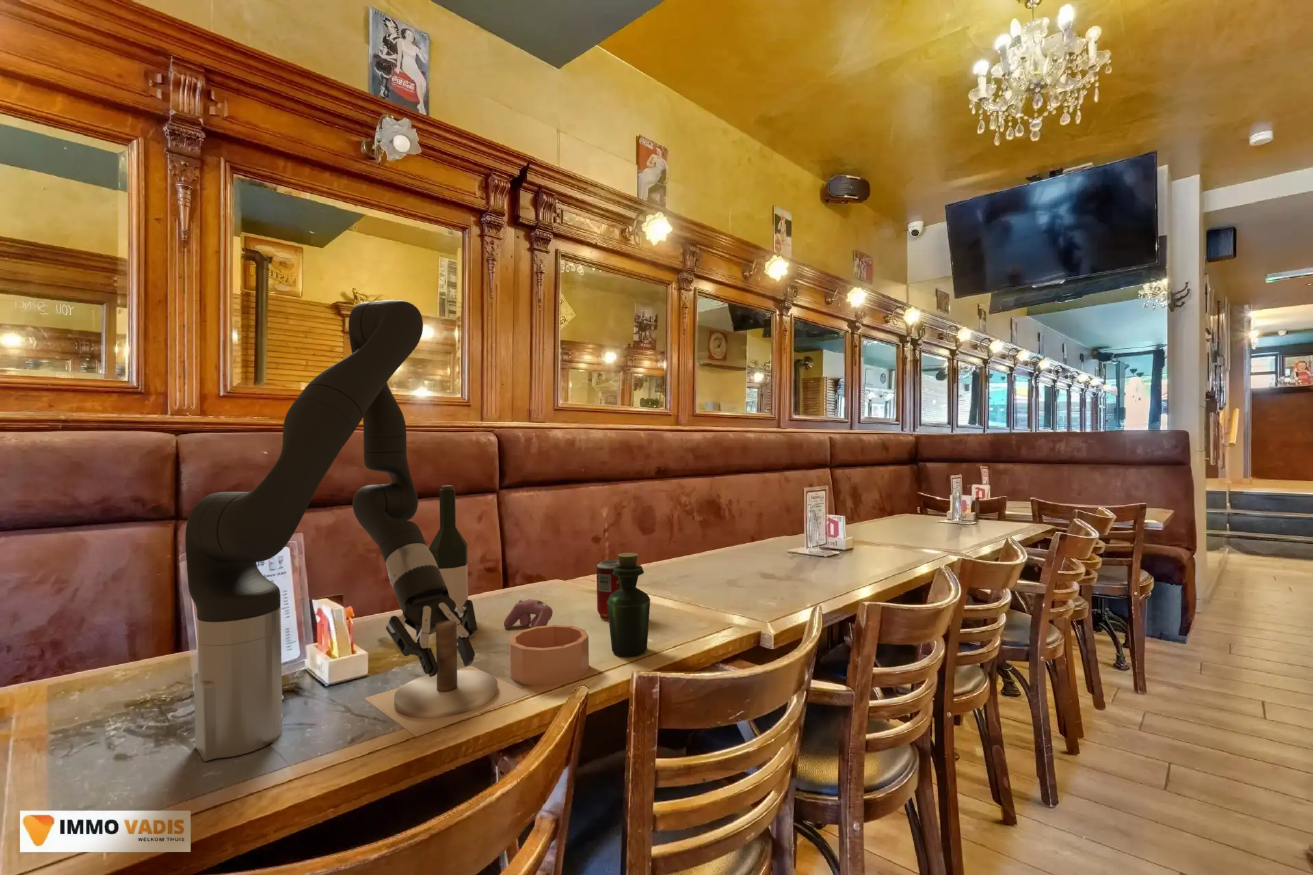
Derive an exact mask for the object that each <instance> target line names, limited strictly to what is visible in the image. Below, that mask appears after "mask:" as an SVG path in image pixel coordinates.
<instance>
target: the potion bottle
mask: <svg viewBox="0 0 1313 875" xmlns="http://www.w3.org/2000/svg"><path fill="white" fill-rule="evenodd" d="M638 557H639V554H638V553H636V552H623V553H618V554H617V560H619V564H620V565H618V566H615V567H614V570H613V575H615V576H618V579H619V582H620V586H621V588H620V589H618V590H617V591H615V592H614V593H612V594H611V595H610V596H609V598H608V600H607V608H608V617H609V620H608V624H609V634H610V635H609V636H610V643H611V644H610V645H611V651H612V653H613V654H614V655H615V656H617V657H621V658H634V657H635V658H636V657H639V656H642V655H644V654H646V652H647V651H648V638H649V624H650V610H651V607H650V606H651V597H650V596H649V594H648V593H647V592H645V591H643V590H641V589H640V588H638V587H637V586H638V585H637V583H638V579H639V576H642V575H644V573H645V571H644V569H643V567H642V565H639V564H638V563H637V562H638Z"/></svg>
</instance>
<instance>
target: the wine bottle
mask: <svg viewBox="0 0 1313 875" xmlns="http://www.w3.org/2000/svg"><path fill="white" fill-rule="evenodd" d="M438 496H439V529H438V531H437V533H436V535H435V536H434V538H433V540H432V541H431V544H429V546H428V549H429V550H430V552H431V553H432V555H433V557H434V559H435V561H436V563H437V566H438V568H439V570H440V572H441V575H442V577H443V579H444V582H445V584H446V586H447V589H448V593H449V596H450V598H451V599H452V600H453V601H454V602H455V603H465V602H466V600H469V581H468V580H469V577H468V574H469V571H468V570H469V569H468V566H469V565H468V543H467V542H466V540H465V539H464V537H463V536H462V534H461V532H460V530H459V529H458V527H457V523H456V522H457V521H456V520H457V519H456V516H457V515H456V511H457V510H456V509H457V508H456V489H455V488H454V485H452V484H451V485H449V484H447V485H441V489H439V495H438ZM454 615H455V616H456V617H457V618H458V619H459V620H460V622H461V625H463V624H462V623H463V622H462V617H459V615H458V613H457V612H456V611H454Z"/></svg>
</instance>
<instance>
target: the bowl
mask: <svg viewBox="0 0 1313 875" xmlns="http://www.w3.org/2000/svg"><path fill="white" fill-rule="evenodd" d="M508 642H509V646H508V648H509V675H510V680H512V681H516V682H517V683H520V684H522V685H528V686H540V687H545V686H551V685H561V684H566V683H569V682H571V681H575V680H576V679H580V678H581V677H583V676H584V675H585V674H586V673H587V672H588V670H590V650H589V648H590V646H589V645H590V644H589V634H588V633H587V631H586V629H583V628H580V627H577V626H574V625H565V624H564V625H563V624H549V625H548V624H547V625H546V626H538V627H531V628H527V629H523V630H519V631H517V632H516V633H514V634H512V636H509V641H508Z"/></svg>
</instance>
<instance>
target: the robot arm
mask: <svg viewBox="0 0 1313 875" xmlns="http://www.w3.org/2000/svg"><path fill="white" fill-rule="evenodd" d="M348 317H349V318H348V326H347V328H348V337H349V343H350V348H351V354H349V355H348V356H347V357H345V358H343V359H342V360H339V361H338V362H336V363H335V364H333V365H331V366H330V367H327V369H325V370H324V371H322V372H321V373H319V374H318V375H316V376H315V378H313V379H312V380H311V381H310V382H309V383H308V384H307V385H306V386H305V387H304V389H303V390H302V391H301V392H300V394H299V395H298V396H297V397H296V399H295V400H294V402H293V403H292V404H291V405H290V407H289V409H288V411H287V412H286V414H285V417H284V421H283V426H282V427H283V428H282V445H281V452H280V454H279V457H278V459H277V461H276V462H275V464H274V465H273V467H272V468H271V469H270V470H269V471H268V473H267V475H266V476H265V477H264V478H263V479H262V480H261V482H260V483H259V484H258V485H257V486H256V487H255V488H254V489H253V490H251V491H220V492H214V493H210V494H208V495H206V496H203V498H201V499H200V500H198V502H197V503H195V505H194V506H193V508H192V509H191V511H190V512H189V515H188V518H187V520H186V524H185V525H186V526H185V533H184V535H185V536H184V537H185V538H184V543H185V544H184V546H185V559H186V572H187V586H188V591H189V595H190V598H191V600H192V601H193V603H194V604H195V608H196V623H197V624H196V626H197V627H196V630H197V631H196V634H197V636H196V637H197V638H196V639H197V642H196V643H197V644H196V645H197V646H196V647H197V672H196V673H195V674H194V676H193V682H194V685H193V686H194V687H193V688H194V690H193V691H194V692H193V694H194V698H193V699H194V747H195V748H196V750H197V752H198V753H199V755H200V757H201V759H202V760H203V762H208V761H211V760H215V759H223V758H231V757H237V756H240V755H244V754H249V753H251V752H255V751H257V750H260V749H262V748H265V747H266V746H268V745H270V744H272V743H273V741H276V740H277V738H278V737H280V736H281V734H282V733H283V720H284V719H283V718H284V716H283V682H282V680H283V678H282V677H283V675H282V673H283V672H282V671H283V670H282V614H281V613H282V611H281V610H282V609H281V607H282V606H281V597H282V596H281V590H280V588H279V586H278V585H277V584H276V583H274V582H273V581H272V580H269V579H268V578H267V577H265V576H264V575H263V573H262V572H261V571H260V569H259V567H258V565H257V563H259V562H261V563H262V562H264V561H268V560H270V559H272V558H274V557H275V556H277V555H278V554H279V553H281V552H282V550H284V548H285V547H286V546H287V545H288V543H289V541H290V540H291V539H292V536H294V534H295V532H296V530H297V529H298V527H299V524H300V523H301V521H302V519H303V516H304V514H306V513H305V512H306V510H307V509H308V506H309V505H310V503H311V501H312V498H313V497H314V495H315V493H316V491H317V489H318V487H319V486H320V484H321V482H322V481H323V478H324V477H325V476H326V474H327V473H328V471H329V469H330V468H331V467H332V465H333V463H334V461H335V459H337V456H339V454H340V452H341V450H342V448H343V447H344V446H345V445H346V443H347V442H348V440H350V438H351V436H352V435H353V434H354V432H355V431H356V429H357V428H358V426H359V424H360V423H361V422H362V425H363V427H362V428H363V429H362V430H363V431H362V432H363V463H364V466H365V468H366V469H368V470H370V471H375V472H383V473H386V474H388V476H389V477H390V479H391V483H382V484H369V485H365V486H362V487H360V488H358V490H356V492H355V494H354V496H353V499H352V510H353V514H354V516H355V519H356V520H357V522H358V523H359V524H360V526H361V527H362V528H363V529H364V531H365V532H366V533H367V534H368V536H370V538H371V539H372V540H373V541H374V542H375V544H376V545H377V546H378V547H379V550H380V552H381V555H382V558H383V561H384V564H385V566H386V570H387V574H388V578H389V582H390V585H391V587H392V589H393V592H394V594H395V597H396V600H397V603H398V606H399V607H400V610H401V612H402V614H401V615H399V616H396V615H391V617H390V618H389V620H388V623H387V624H386V626H385V629H386V631H387V633H388V634H389V636H390V637H391V639H392V640H393V642H394V644H395V645H396V647H397V648H398V649H399V651H400V652H401V654H402V655H403V656H404V657H409V656H411V655H413V656H416V657H417V658H418V659H419V663H420V665H421V667H422V670H423V673H425V675H429V677H433V676H435V675H436V674H437V672H438V670H439V668H438V665H437V662H436V658H435V656H434V652H433V650H432V647H429V641H430V639H429V638H430V636H431V635H432V634H434V633H436V623H438V622H441V621H446V620H453V621H456V622H457V652H458V654H459V656H460V658H461V661H462V664H463V666H464V668H465V667H468V666H472V665H471V664H473V662H474V658H475V656H476V652H475V651H474V648H473V646H472V643H471V639H473V636H474V635H475V633H476V632H477V630H478V625H477V620H476V613H475V608H474V604H473V601H472V600H470V599H468V600H466V602H465V603H455V602H454V601H453V600H452V599H451V598H450V596H449V593H448V589H447V586H446V584H445V582H444V579H443V577H442V575H441V572H440V570H439V568H438V566H437V563H436V561H435V559H434V557H433V555H432V553H431V552H430V550H429V546H428V544H427V543H426V539H425V537H424V535H423V533H422V530H421V528H420V527H419V525H418V524H417V523H415V522H413V521H410V520H411V519H412V518H414V516H415V514H416V513H417V511H418V507H419V497H418V493H417V490H416V487H415V484H414V481H413V478H412V475H411V471H410V467H409V462H408V455H407V453H408V452H407V450H408V449H407V448H408V447H407V425H406V419H405V417H404V416H405V415H404V413H403V411H402V409H401V407H400V405H399V403H398V402H397V400H396V398H395V396H394V395H393V393H392V391H391V389H390V386H389V384H388V381H389V380H390V379H391V377H392V376H393V375H394V374H395V373H396V371H397V370H398V369H399V368H400V367H401V365H402V364H404V362H405V361H406V360H407V359H408V358H409V357H410V355H411V354H413V352H414V351H415V349H416V348H417V346H418V344H419V343H420V340H421V338H422V337H423V336H422V335H423V333H424V332H423V331H424V330H423V329H424V320H423V317H422V313H421V311H420V310H419V309H418V307H417V306H416V305H415V304H414V303H412V302H409V301H407V300H398V299H388V300H375V301H374V300H373V301H365V302H360V303H358V304H356V305H355V306H353V308H352V309H351V311H350V313H349V316H348ZM454 611H456V612H457V613H458V615H459V617H462V622H463V624H461V622H460V620H459V619H458V618H457V617H456V616H455V615H454ZM406 625H407V626H408V627H410V628H411V629H413V630H414V631H415V633H414V635H415V637H414V638H413V637H412V636H411V634H410V633H409V632H408V630H407V628H406ZM414 639H415V640H414Z"/></svg>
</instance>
